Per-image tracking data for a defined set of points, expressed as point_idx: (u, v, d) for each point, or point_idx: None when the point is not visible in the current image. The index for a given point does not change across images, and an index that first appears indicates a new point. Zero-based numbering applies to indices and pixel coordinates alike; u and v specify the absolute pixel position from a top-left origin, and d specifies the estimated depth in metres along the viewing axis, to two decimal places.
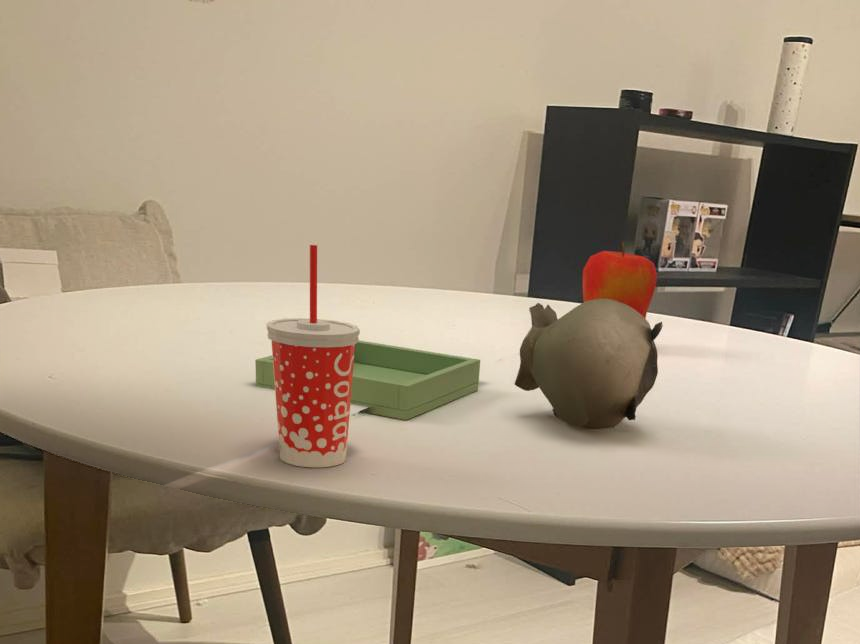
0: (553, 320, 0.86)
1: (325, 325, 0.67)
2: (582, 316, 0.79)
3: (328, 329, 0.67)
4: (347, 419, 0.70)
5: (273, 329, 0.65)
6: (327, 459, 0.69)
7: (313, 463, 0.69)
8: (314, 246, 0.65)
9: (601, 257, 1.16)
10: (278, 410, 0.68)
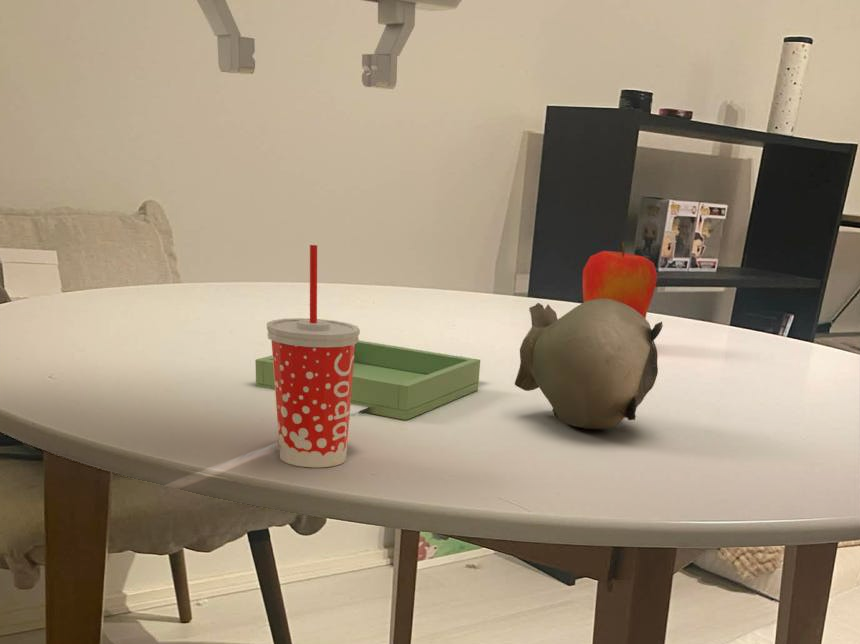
0: (553, 320, 0.86)
1: (325, 325, 0.67)
2: (582, 316, 0.79)
3: (328, 329, 0.67)
4: (347, 419, 0.70)
5: (273, 329, 0.65)
6: (327, 459, 0.69)
7: (313, 463, 0.69)
8: (314, 246, 0.65)
9: (601, 257, 1.16)
10: (278, 410, 0.68)
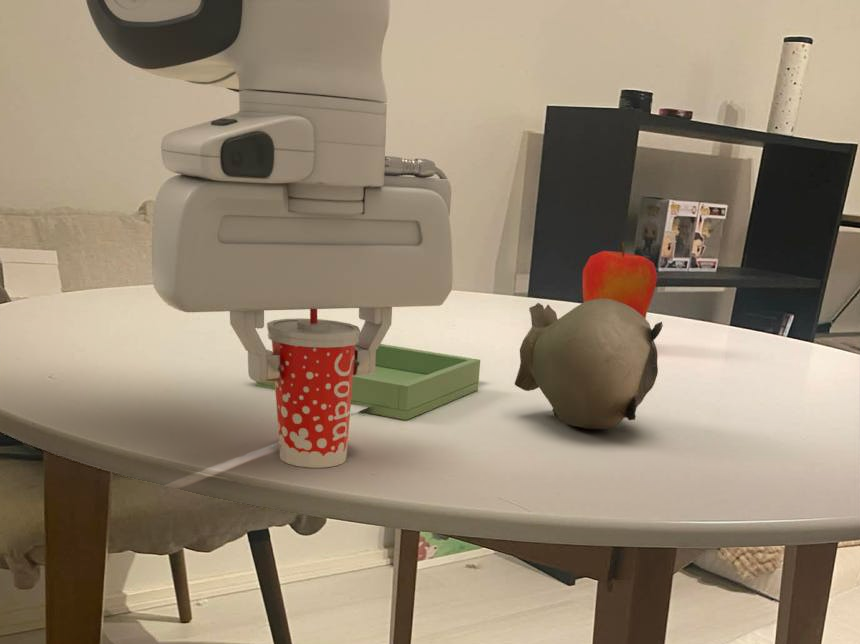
0: (553, 320, 0.86)
1: (325, 325, 0.67)
2: (582, 316, 0.79)
3: (328, 329, 0.67)
4: (347, 419, 0.70)
5: (273, 329, 0.65)
6: (327, 459, 0.69)
7: (313, 463, 0.69)
8: None
9: (601, 257, 1.16)
10: (278, 410, 0.68)
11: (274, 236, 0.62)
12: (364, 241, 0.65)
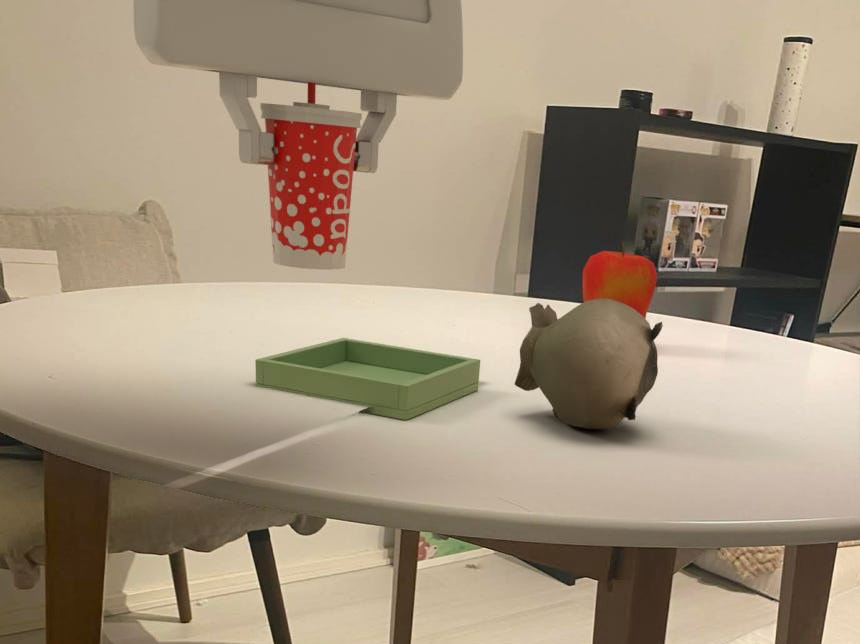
0: (553, 320, 0.86)
1: (324, 105, 0.61)
2: (582, 316, 0.79)
3: None
4: (347, 218, 0.64)
5: (267, 104, 0.60)
6: (324, 260, 0.64)
7: (308, 263, 0.63)
8: None
9: (601, 257, 1.16)
10: (272, 203, 0.63)
11: None
12: (368, 9, 0.60)
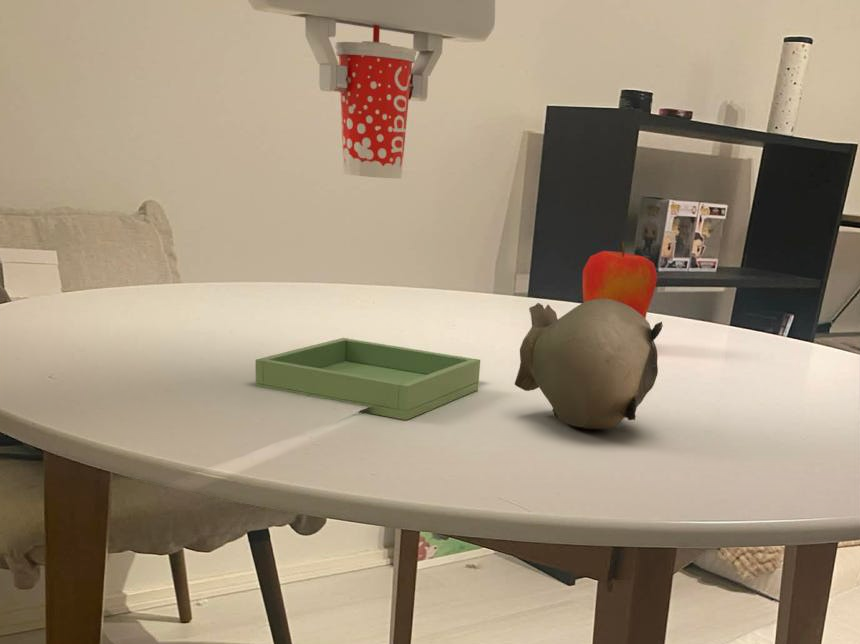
0: (553, 320, 0.86)
1: (387, 44, 0.77)
2: (582, 316, 0.79)
3: None
4: (403, 137, 0.80)
5: (342, 42, 0.75)
6: (386, 170, 0.79)
7: (374, 172, 0.79)
8: None
9: (601, 257, 1.16)
10: (344, 124, 0.78)
11: None
12: None
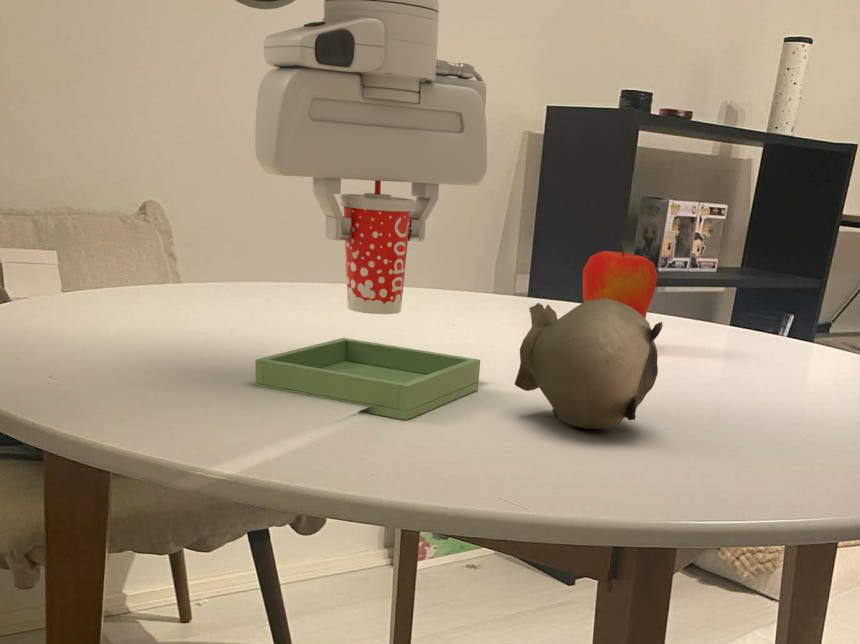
0: (553, 320, 0.86)
1: (387, 196, 0.83)
2: (582, 316, 0.79)
3: (389, 199, 0.84)
4: (403, 276, 0.86)
5: (347, 197, 0.82)
6: (387, 307, 0.86)
7: (375, 310, 0.86)
8: None
9: (601, 257, 1.16)
10: (348, 266, 0.85)
11: (351, 117, 0.78)
12: (419, 127, 0.82)
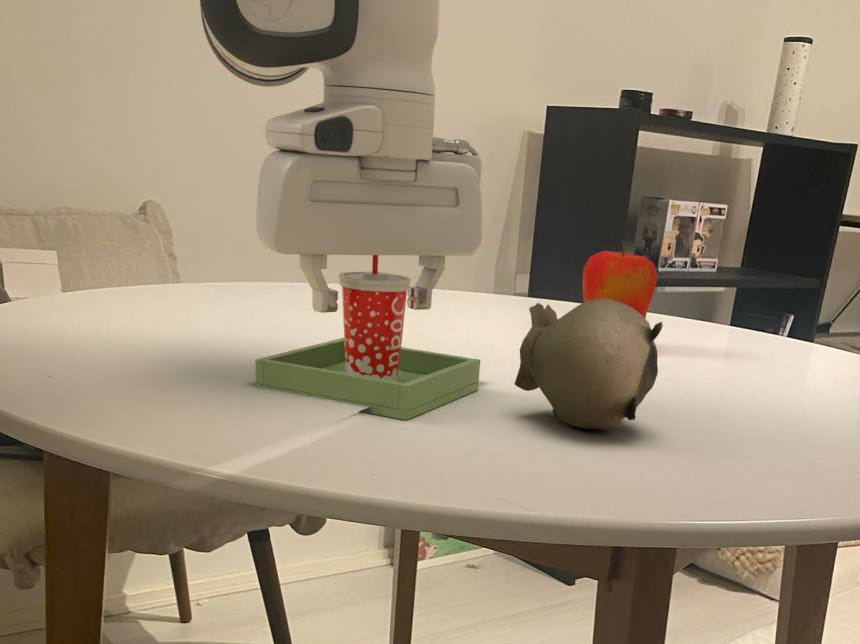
0: (553, 320, 0.86)
1: (384, 275, 0.86)
2: (582, 316, 0.79)
3: (386, 279, 0.86)
4: (399, 350, 0.89)
5: (345, 278, 0.85)
6: None
7: None
8: None
9: (601, 257, 1.16)
10: (346, 342, 0.88)
11: (349, 197, 0.81)
12: (416, 202, 0.85)
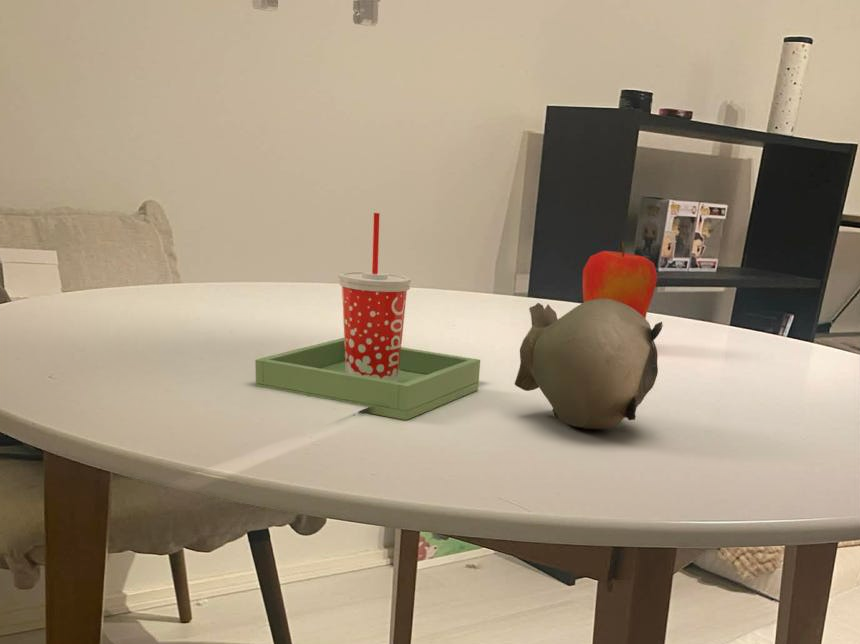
0: (553, 320, 0.86)
1: (384, 275, 0.86)
2: (582, 316, 0.79)
3: (386, 279, 0.86)
4: (399, 350, 0.89)
5: (345, 278, 0.85)
6: None
7: None
8: (377, 213, 0.84)
9: (601, 257, 1.16)
10: (346, 342, 0.88)
11: None
12: None
